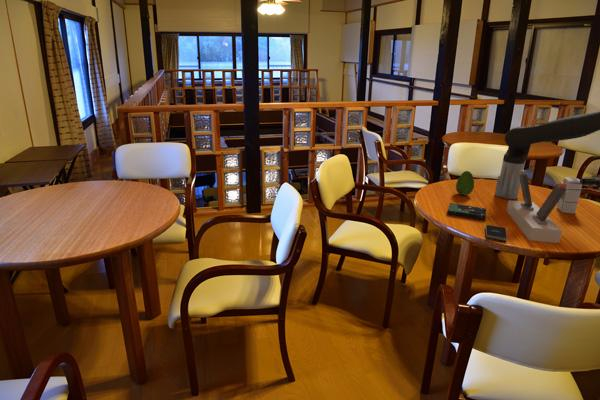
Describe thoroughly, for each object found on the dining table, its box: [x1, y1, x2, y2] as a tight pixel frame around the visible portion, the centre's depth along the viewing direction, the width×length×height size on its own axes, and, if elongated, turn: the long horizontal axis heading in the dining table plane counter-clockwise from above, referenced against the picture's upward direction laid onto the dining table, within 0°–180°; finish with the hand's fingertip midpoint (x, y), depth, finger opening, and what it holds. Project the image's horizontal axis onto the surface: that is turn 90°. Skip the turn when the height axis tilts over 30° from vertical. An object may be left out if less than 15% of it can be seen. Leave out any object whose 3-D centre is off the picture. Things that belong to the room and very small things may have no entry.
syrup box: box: [556, 176, 583, 214], centre depth 178 cm, size 6×6×14 cm
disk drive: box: [446, 202, 487, 222], centre depth 173 cm, size 10×3×15 cm
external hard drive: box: [484, 224, 508, 243], centre depth 153 cm, size 7×11×2 cm, turn 157°
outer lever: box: [536, 181, 567, 221], centre depth 151 cm, size 3×5×15 cm, turn 170°
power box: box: [506, 200, 563, 244], centre depth 162 cm, size 10×30×6 cm, turn 169°
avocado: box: [455, 170, 475, 196], centre depth 195 cm, size 8×8×12 cm
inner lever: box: [519, 169, 533, 207], centre depth 165 cm, size 3×5×15 cm, turn 168°
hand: (581, 180), depth 147 cm, fingers closed
